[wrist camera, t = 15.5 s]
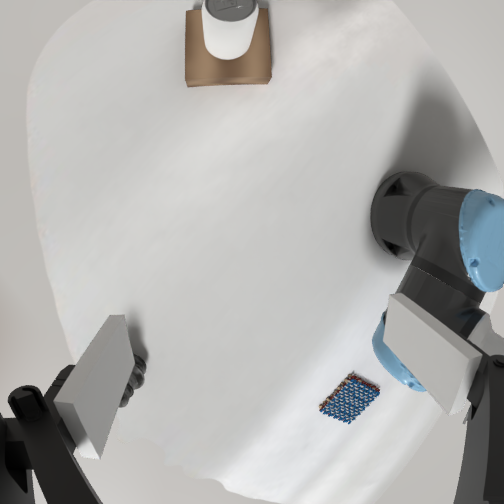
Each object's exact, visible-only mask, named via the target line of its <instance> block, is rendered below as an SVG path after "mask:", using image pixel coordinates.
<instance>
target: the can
mask: <svg viewBox="0 0 504 504" xmlns="http://www.w3.org/2000/svg"><path fill="white" fill-rule="evenodd" d="M258 12H259V7H258V3H257V0H205V1H204V2H203V5H202V22H203V32H204V41H205V46H206V48H207V50H208V51H209V53H210V54H212V55H213V56H215V57H217V58H219V59H225V60H230V59H235V58H238V57H240V56H242V55H243V54H244V53H245V52H246V51H247V50H248V48H249V46H250V43H251V40H252V36H253V32H254V29H255V25H256V21H257V17H258Z"/></svg>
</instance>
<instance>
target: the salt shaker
mask: <svg viewBox="0 0 504 504" xmlns="http://www.w3.org/2000/svg"><path fill="white" fill-rule="evenodd" d="M133 357H134V361H135V365H134V367H133V370H132V372H131V375H130V377H129V380H128V383H127V385H126V388H125V391H124V393H123V396H122V399H121V401H120V404H119V407H120V408H121V407H125V406H126V405H127V404H128V401H129V398H130V397H131V396H132V395H133V393H134V389H138V388H140V387H141V386H142V385H143V384H144V374H145V372H146V364H145V362H144V361H143V360H142V359H141V358H140V357H138V356H137V355H134V354H133Z"/></svg>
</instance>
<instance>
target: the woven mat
mask: <svg viewBox="0 0 504 504" xmlns="http://www.w3.org/2000/svg"><path fill="white" fill-rule="evenodd" d="M348 376H349V377H350V378H349V379H345V380H344V381H345V383H343V382H341V383H340V384H341V385H343V386H342V387H340V386H339V387H338V388H337V389H338V391H337V390H335V391H334V395H333V394H331V395H330V396H332V397H330V398H327V399H326V400H327V402H326V401H323V403H325V404H324V405H320V406H319V408H321V409H320V410H319V411H320V412H322V411H324V413H323V414H328V416H329V417H330V416H334V415H335V416H334V417H333V418H334V419H335V418H339V417H340V418H339V419H338V420H339V421H340V420H344V419H345V420H344V421H343V422H348V421H349V423H348V424H350V423H351V422H352V421H353V420H356V419H355V418H356V416H358V415H361V414H360V413H362V412H363V410H364V411H365V408H367V406H370V405H369V404H371V403H370V402H372V401H375V400H374V399H375V398H376V397H378V396H379V394H380V392H379V391H380V389H378V388H375V387H376V386H371V384H368V383H366V382H364V381H361V378H360V379H359V378H357V377H356V376H355V377H354V376H352V375H350V374H349V375H348ZM368 388H369V389H368ZM372 398H373V399H372ZM337 405H338V406H337ZM347 415H348V416H347Z"/></svg>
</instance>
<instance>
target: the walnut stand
mask: <svg viewBox="0 0 504 504" xmlns="http://www.w3.org/2000/svg"><path fill="white" fill-rule="evenodd" d="M271 78H272V72H271V54H270V38H269V22H268V9H265V8H259V12H258V17H257V21H256V25H255V29H254V32H253V36H252V40H251V43H250V46H249V48H248V50H247V51H246V52H245V53H244V54H243V55H242V56H240V57H238V58H235V59H230V60H225V59H219V58H217V57H215V56H213V55H212V54H210V53H209V51H208V50H207V48H206V46H205V41H204V32H203V22H202V9H201V10H188V11H186V32H185V81H186V84H187V86H188V87H197V86H213V85H239V84H268V83H269V81H270V79H271Z"/></svg>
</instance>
